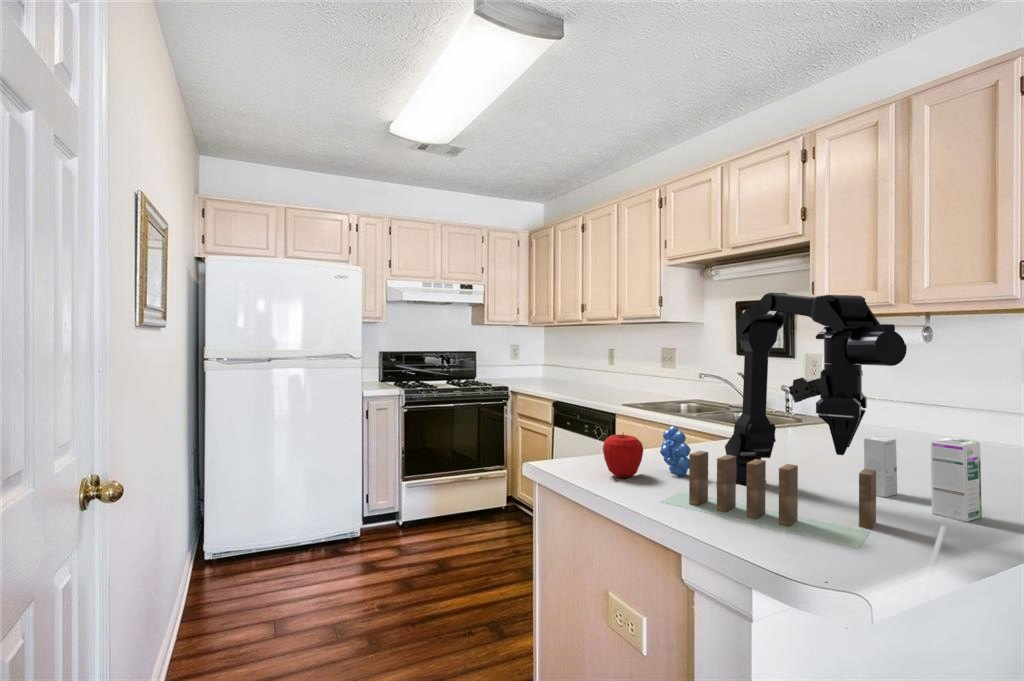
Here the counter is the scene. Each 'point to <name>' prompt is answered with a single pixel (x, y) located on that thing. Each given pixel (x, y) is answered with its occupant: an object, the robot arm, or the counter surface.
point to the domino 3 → (756, 488)
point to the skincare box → (882, 463)
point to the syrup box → (956, 479)
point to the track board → (771, 520)
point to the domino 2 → (726, 483)
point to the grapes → (675, 451)
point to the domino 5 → (867, 498)
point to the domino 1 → (698, 478)
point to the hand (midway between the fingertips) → (842, 450)
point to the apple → (623, 455)
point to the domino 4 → (788, 495)
